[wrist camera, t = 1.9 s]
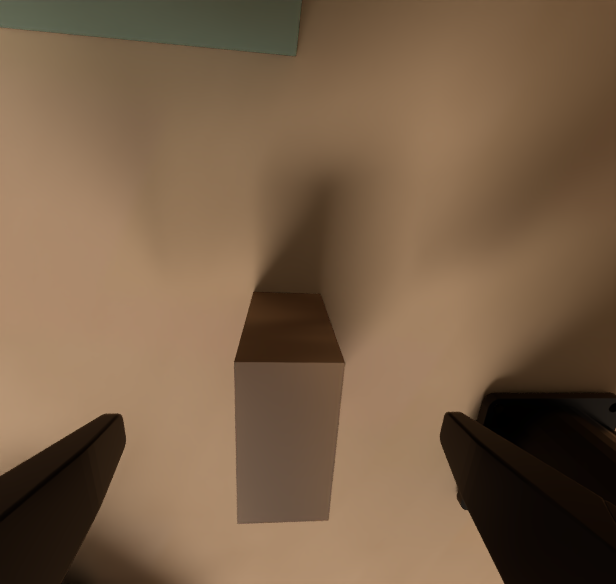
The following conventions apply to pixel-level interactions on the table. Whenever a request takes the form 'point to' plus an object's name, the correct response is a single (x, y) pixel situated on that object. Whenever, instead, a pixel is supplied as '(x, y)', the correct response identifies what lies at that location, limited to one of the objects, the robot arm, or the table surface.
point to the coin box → (166, 21)
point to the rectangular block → (286, 409)
